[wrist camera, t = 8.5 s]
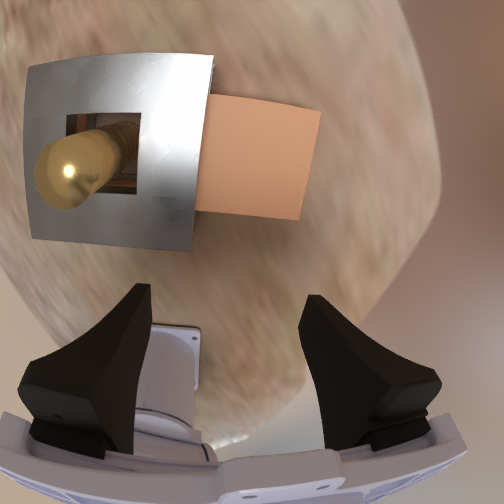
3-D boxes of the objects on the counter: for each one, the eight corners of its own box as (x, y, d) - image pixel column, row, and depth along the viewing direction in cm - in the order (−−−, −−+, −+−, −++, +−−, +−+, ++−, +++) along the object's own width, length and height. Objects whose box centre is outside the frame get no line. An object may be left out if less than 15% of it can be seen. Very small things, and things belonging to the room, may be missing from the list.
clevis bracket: (195, 222, 21) (191, 252, 17) (60, 213, 19) (32, 238, 15) (214, 66, 16) (213, 55, 12) (62, 70, 14) (28, 66, 10)
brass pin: (142, 165, 18) (92, 213, 11) (102, 162, 18) (35, 206, 10) (147, 123, 17) (95, 140, 9) (106, 120, 16) (34, 138, 9)
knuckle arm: (288, 205, 21) (298, 220, 19) (78, 189, 18) (61, 202, 16) (307, 110, 18) (321, 112, 15) (81, 94, 15) (61, 94, 13)
